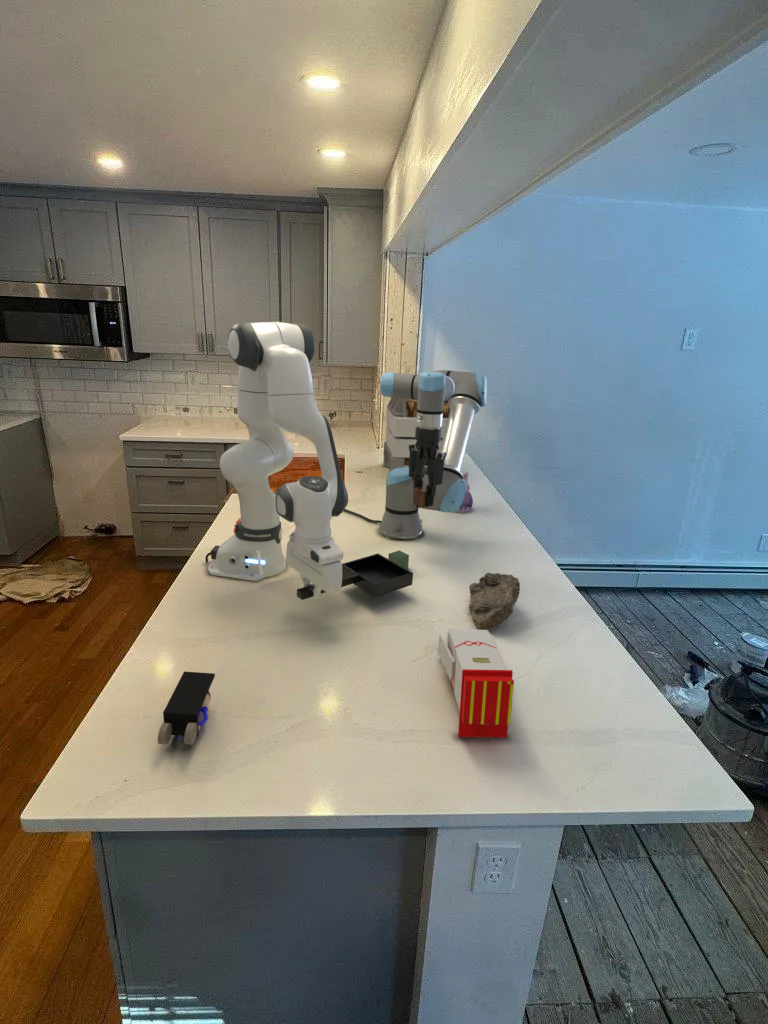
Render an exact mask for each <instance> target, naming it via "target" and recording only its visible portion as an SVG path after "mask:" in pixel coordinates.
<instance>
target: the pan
mask: <svg viewBox="0 0 768 1024" xmlns="http://www.w3.org/2000/svg"><path fill="white" fill-rule="evenodd" d="M341 564H342V586H341V588H344V587H347V586H350V585H354V586H356V588H358V589H360V590H362V591H363V592H365V593H366V594H369V595H370V596H371V597H373V598H374V599H376V598H379V597H381V596H384V595H387V594H389V593H392V592H395V591H398V590H401V589H404V588H407V587H409V586H413V581H414V580H413V579H414V572H413V571H410V570H409V569H408V570H407V569H405V568H403V567H402V566H400V565H398V564H396V563H394V562H393V561H391V560H389V559H388V558H387V557H385V556H383V555H381V554H380V553H379V552H378V553H375V554H370V555H368V556H364V557H360V558H357V559H353V560H350V561H347V562H344V563H341ZM311 584H312V585H309V586H306V587H299V588H297V589H296V597H297V598H299V599H300V600H301V601H304V600H307V599H310V598H314V597H313V596H312V590H314V588H315V587H314V583H311ZM325 593H326V592H325V591H324V590H321V595H322V594H325ZM326 594H327V593H326Z"/></svg>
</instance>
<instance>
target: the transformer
mask: <svg viewBox="0 0 768 1024" xmlns="http://www.w3.org/2000/svg"><path fill="white" fill-rule="evenodd" d="M449 413H450V408H449V407H448V403H444V404H443V416H442V427H440V429H441V440H440V442H439V450H440V448H441V444H442V440H443V436H444V432H445V428H446V424H447V421H448V417H449ZM385 414H386V415H385V423H386V428H385V438H384V442H383V466H384V467H388V468H389V472H390V471H391V470H393V469H397V468H402V467H405V466H406V467H409V458H410V451H409V445H412V444H416V442H417V440H416V439H415V430H416V427H418V426H417V425H416V416H417V400H413V399H401V398H390V400H389V402H388V404H387V405H386V413H385ZM431 460H432V459H431ZM424 467H427V463H426V461H425V464H424ZM460 472H461V473H462V469H461V470H460Z"/></svg>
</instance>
